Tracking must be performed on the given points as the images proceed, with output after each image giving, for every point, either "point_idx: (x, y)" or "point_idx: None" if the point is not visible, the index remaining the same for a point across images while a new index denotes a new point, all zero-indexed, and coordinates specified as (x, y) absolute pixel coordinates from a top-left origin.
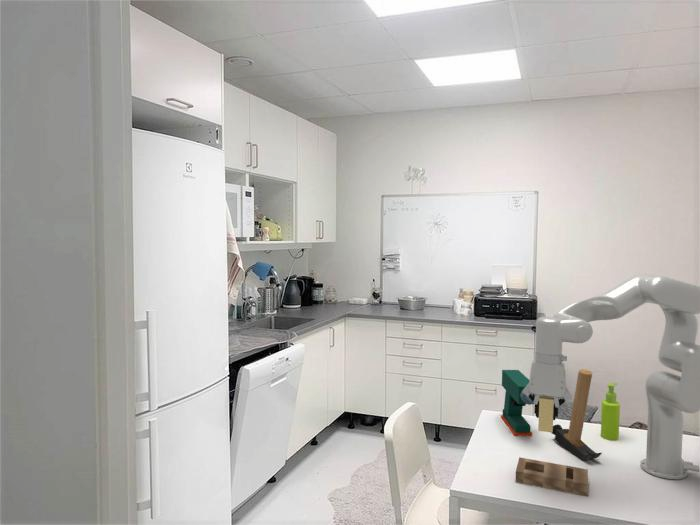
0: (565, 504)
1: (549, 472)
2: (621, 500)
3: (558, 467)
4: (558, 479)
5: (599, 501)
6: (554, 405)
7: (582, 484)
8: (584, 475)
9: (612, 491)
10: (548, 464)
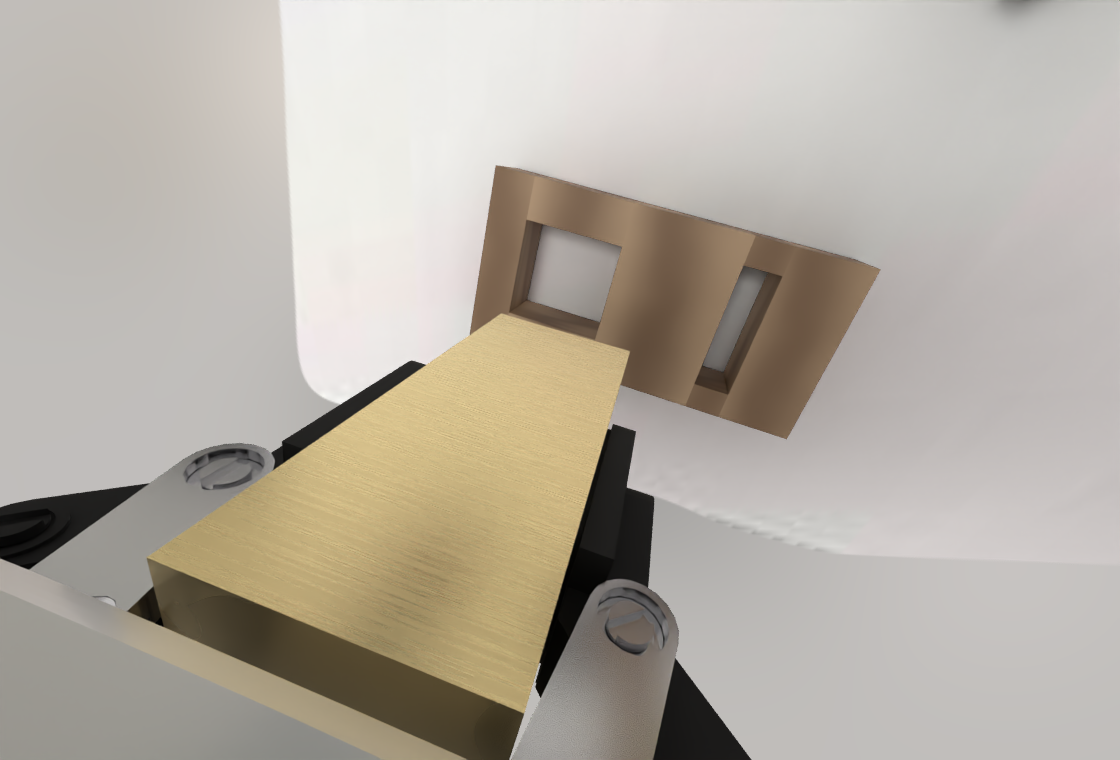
0: (653, 469)
1: (626, 335)
2: (928, 436)
3: (694, 268)
4: (653, 394)
5: (809, 446)
6: (547, 679)
7: (759, 427)
8: (814, 350)
9: (937, 361)
10: (646, 236)
